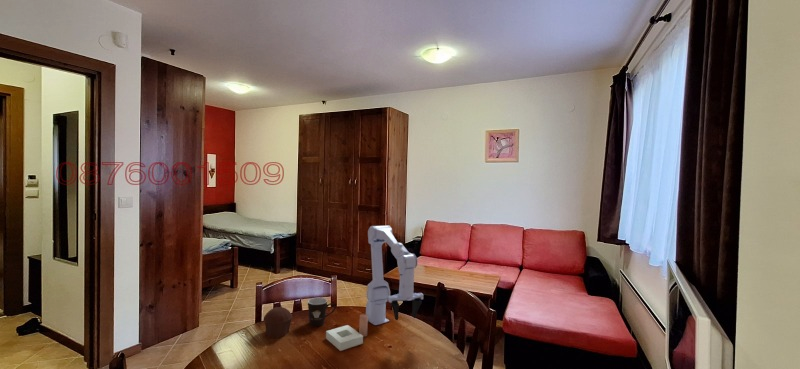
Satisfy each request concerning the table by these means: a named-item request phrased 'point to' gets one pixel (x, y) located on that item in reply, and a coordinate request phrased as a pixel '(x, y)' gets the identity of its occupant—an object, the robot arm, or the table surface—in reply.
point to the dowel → (363, 324)
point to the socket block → (344, 337)
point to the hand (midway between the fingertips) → (405, 318)
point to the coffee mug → (318, 311)
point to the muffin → (277, 322)
